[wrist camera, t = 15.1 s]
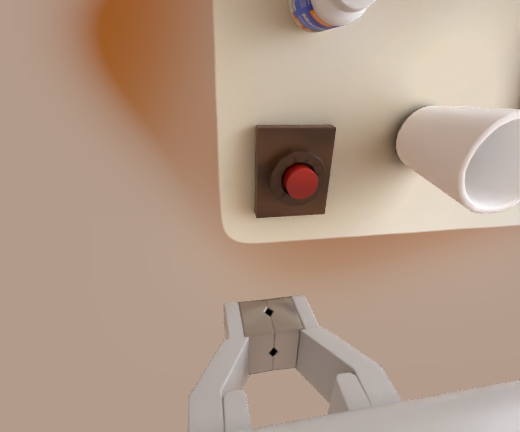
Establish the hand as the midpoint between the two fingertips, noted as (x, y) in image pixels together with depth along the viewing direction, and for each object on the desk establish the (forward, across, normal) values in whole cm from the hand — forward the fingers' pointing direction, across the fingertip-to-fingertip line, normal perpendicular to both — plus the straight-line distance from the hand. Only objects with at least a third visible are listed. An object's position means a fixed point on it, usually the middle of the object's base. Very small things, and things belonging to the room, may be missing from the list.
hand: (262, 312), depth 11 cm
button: (+24, -9, +4) cm, 25 cm away
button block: (+27, -9, +4) cm, 28 cm away
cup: (+27, -26, 0) cm, 37 cm away
